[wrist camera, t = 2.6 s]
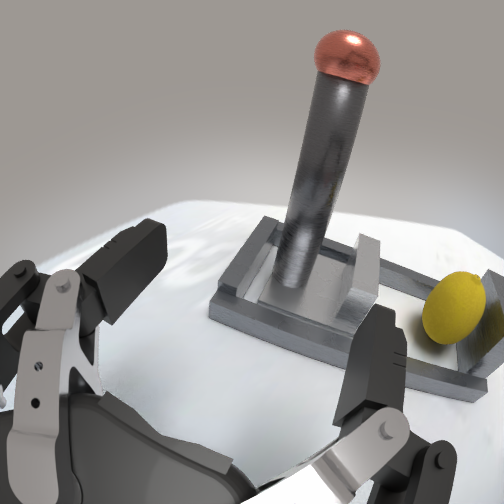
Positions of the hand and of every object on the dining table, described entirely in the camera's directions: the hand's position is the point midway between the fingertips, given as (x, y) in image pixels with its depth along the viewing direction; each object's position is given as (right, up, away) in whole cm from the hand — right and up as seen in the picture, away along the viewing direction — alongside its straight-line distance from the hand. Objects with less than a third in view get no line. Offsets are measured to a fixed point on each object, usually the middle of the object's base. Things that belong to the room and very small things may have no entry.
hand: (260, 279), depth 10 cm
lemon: (+17, -7, +13) cm, 22 cm away
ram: (+5, -3, +15) cm, 16 cm away
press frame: (+11, -5, +14) cm, 18 cm away
